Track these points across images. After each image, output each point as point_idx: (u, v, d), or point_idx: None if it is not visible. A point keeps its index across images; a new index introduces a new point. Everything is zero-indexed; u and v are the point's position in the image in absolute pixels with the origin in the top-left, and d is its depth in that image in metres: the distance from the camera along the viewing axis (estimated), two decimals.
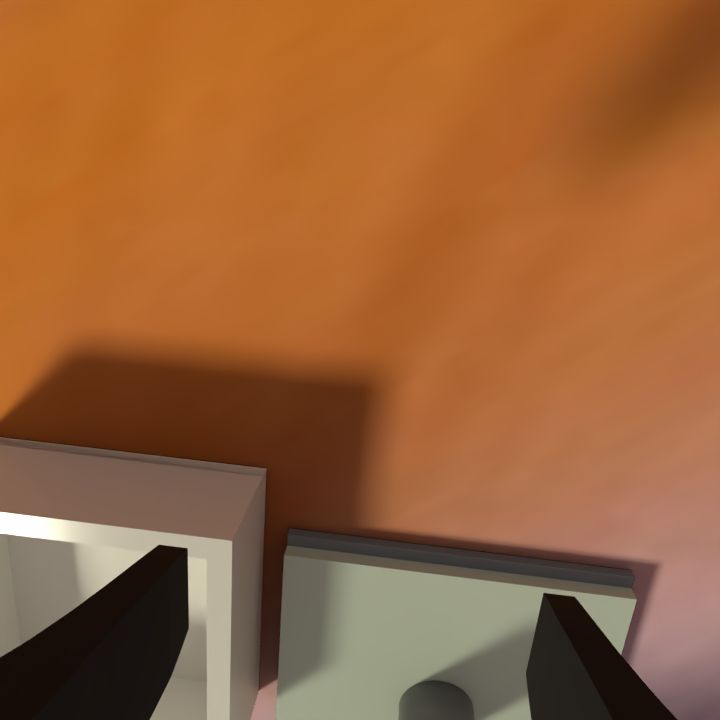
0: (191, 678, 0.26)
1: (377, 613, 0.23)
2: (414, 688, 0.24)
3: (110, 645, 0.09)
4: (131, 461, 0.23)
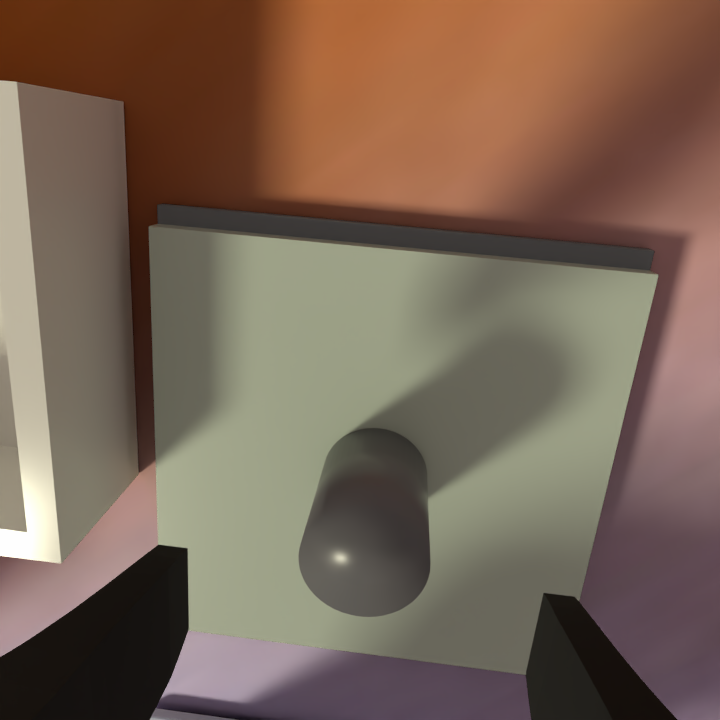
0: None
1: (286, 318, 0.16)
2: (342, 438, 0.17)
3: (110, 645, 0.09)
4: None
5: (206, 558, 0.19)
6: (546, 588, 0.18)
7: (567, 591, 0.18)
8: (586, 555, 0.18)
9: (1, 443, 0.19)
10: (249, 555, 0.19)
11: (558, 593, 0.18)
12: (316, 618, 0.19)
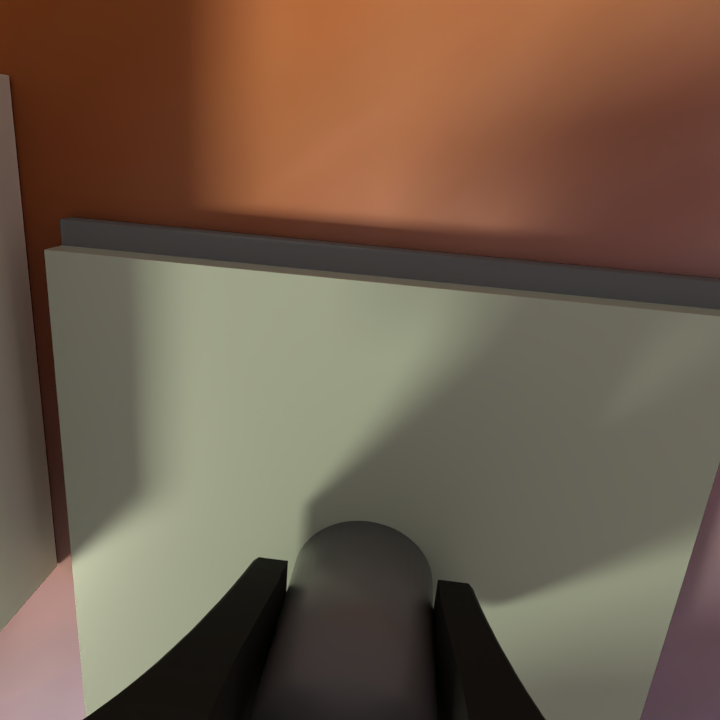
0: None
1: (238, 376, 0.12)
2: (318, 535, 0.13)
3: (240, 662, 0.09)
4: None
5: None
6: None
7: None
8: (645, 685, 0.13)
9: None
10: None
11: None
12: None
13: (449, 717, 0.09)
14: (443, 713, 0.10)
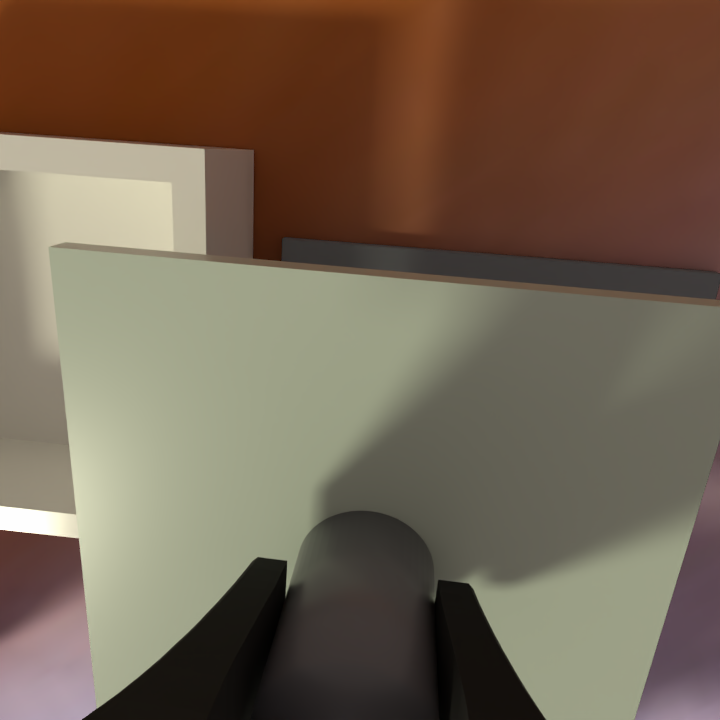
0: None
1: (240, 369, 0.12)
2: (321, 525, 0.13)
3: (239, 662, 0.09)
4: None
5: None
6: (590, 708, 0.14)
7: (617, 712, 0.14)
8: (644, 670, 0.14)
9: None
10: None
11: (605, 714, 0.14)
12: None
13: (450, 717, 0.09)
14: (443, 713, 0.10)
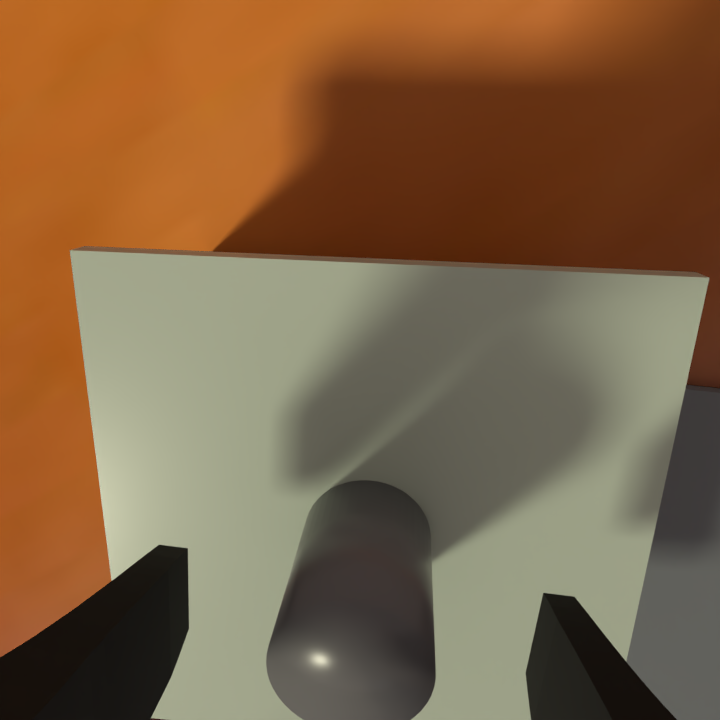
0: None
1: (246, 354, 0.13)
2: (324, 495, 0.14)
3: (110, 645, 0.09)
4: None
5: None
6: None
7: None
8: (630, 620, 0.15)
9: None
10: (224, 632, 0.16)
11: None
12: None
13: None
14: None
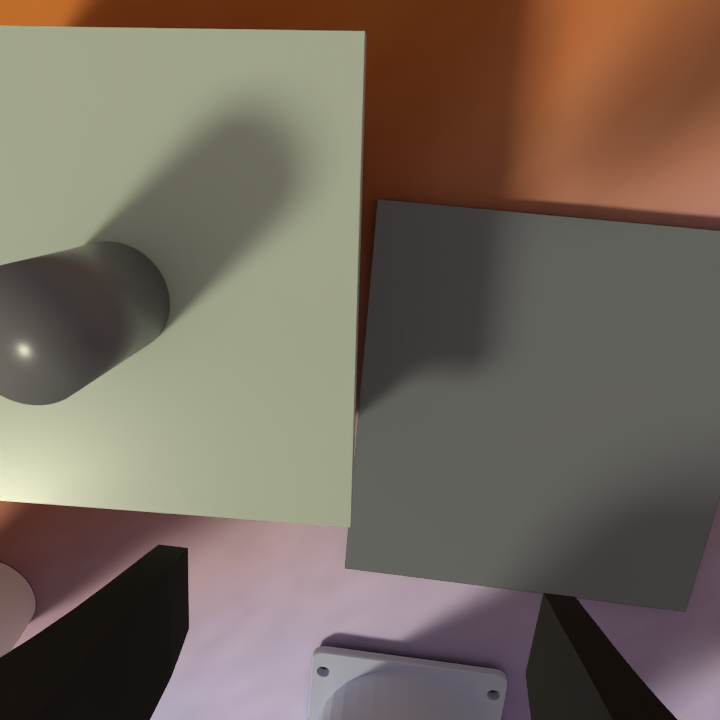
0: None
1: None
2: None
3: (110, 645, 0.09)
4: None
5: None
6: (316, 419, 0.17)
7: (339, 421, 0.17)
8: (350, 375, 0.16)
9: None
10: (5, 403, 0.18)
11: (329, 423, 0.17)
12: (87, 474, 0.18)
13: None
14: None
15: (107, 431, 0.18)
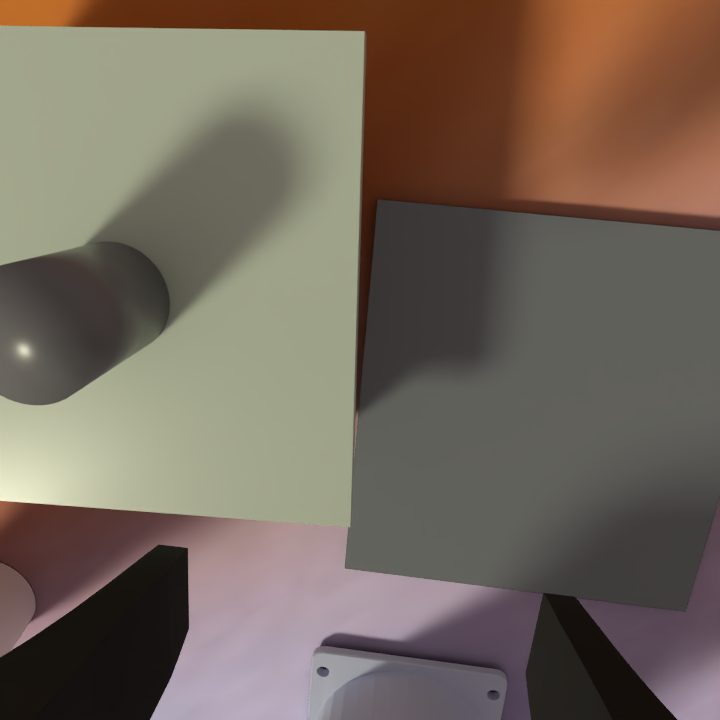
0: None
1: None
2: None
3: (110, 645, 0.09)
4: None
5: None
6: (316, 419, 0.17)
7: (339, 421, 0.17)
8: (350, 375, 0.16)
9: None
10: (5, 403, 0.18)
11: (329, 423, 0.17)
12: (87, 474, 0.18)
13: None
14: None
15: (107, 431, 0.18)
